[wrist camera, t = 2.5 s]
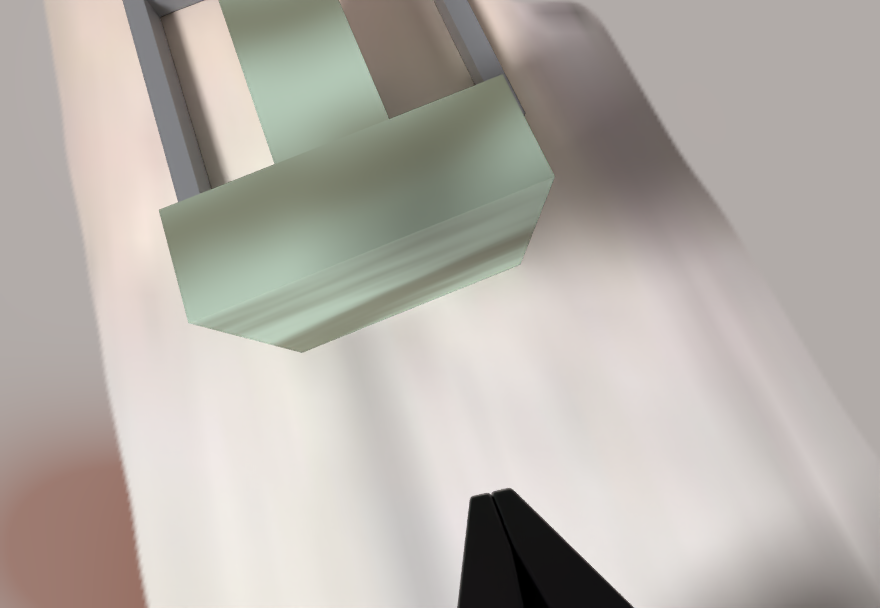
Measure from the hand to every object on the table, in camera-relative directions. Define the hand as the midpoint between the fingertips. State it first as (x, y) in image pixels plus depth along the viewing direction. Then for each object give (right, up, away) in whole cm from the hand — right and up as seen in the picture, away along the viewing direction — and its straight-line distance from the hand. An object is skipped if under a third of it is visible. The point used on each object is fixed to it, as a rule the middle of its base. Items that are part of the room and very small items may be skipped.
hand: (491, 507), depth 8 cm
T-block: (-5, +10, +15) cm, 19 cm away
